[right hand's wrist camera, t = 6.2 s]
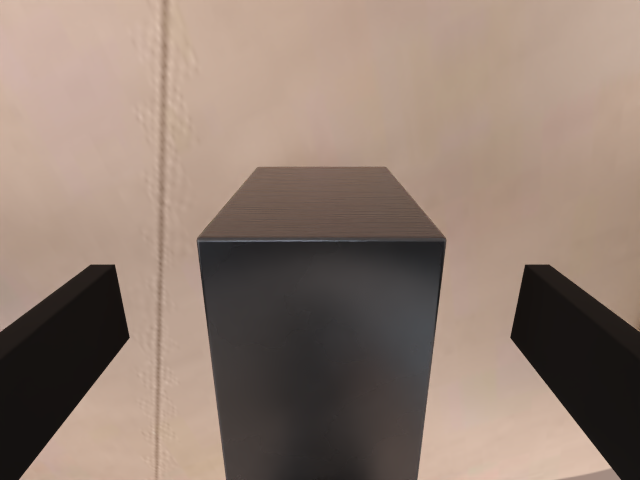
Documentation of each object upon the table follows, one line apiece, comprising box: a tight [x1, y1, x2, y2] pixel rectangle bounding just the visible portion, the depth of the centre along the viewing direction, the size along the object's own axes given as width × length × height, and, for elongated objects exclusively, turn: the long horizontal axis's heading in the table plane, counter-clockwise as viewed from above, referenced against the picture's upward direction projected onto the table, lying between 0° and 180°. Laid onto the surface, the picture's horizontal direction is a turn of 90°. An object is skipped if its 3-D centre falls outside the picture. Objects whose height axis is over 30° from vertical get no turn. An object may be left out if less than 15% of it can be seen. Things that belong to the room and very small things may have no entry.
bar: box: [197, 167, 446, 480], centre depth 18 cm, size 26×6×9 cm, turn 0°
